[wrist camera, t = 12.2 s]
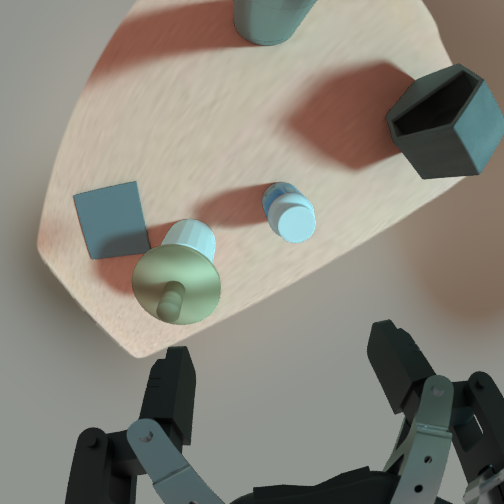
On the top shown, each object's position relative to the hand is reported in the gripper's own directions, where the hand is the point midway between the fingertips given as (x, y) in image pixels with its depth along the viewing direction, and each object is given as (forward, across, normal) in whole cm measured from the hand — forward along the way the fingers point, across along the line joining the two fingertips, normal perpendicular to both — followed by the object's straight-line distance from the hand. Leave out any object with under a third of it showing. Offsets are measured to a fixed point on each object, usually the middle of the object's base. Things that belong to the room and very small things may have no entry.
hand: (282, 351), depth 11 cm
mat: (+33, +23, +3) cm, 40 cm away
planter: (+33, -29, -11) cm, 46 cm away
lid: (+23, +11, +10) cm, 28 cm away
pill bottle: (+33, -5, +3) cm, 34 cm away
